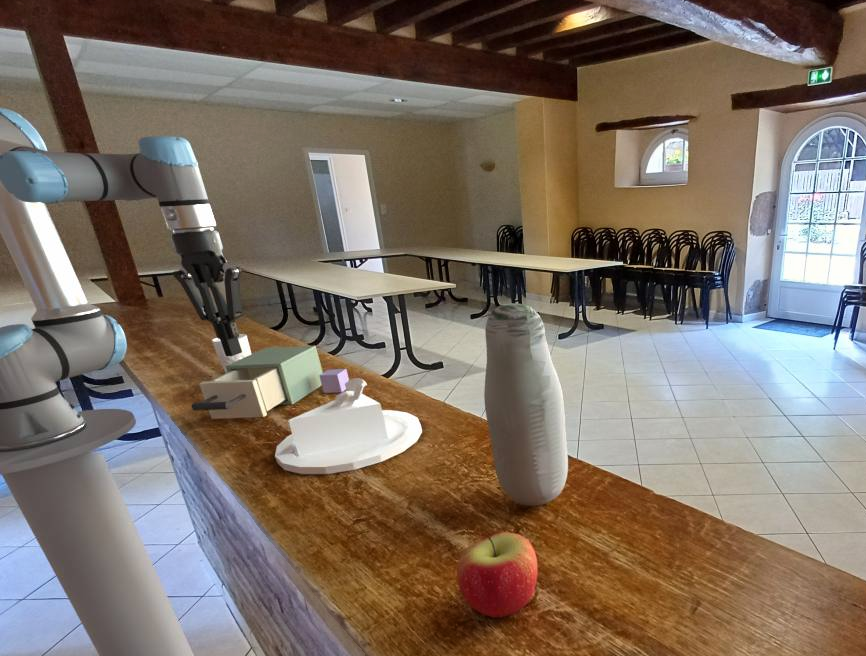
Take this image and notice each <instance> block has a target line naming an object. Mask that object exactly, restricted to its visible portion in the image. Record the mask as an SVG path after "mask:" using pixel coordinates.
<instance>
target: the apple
mask: <svg viewBox="0 0 866 656" xmlns="http://www.w3.org/2000/svg"><path fill="white" fill-rule="evenodd" d="M538 571H539V570H538V559H537V555H536V551H535V549H534V547H533V545H532V543H531V542H530V541H529V540H528V538H525V536H523V535H520V534H518V533H513V532H498V533H495V534H492V535H489V536H487V537H484V538H483V539H481V540H479V541H477V542H475V543H473V544H472V545H470V546H468V547H467V548H466V549H465V550H464V551H463V552H462V553H461V555H460V556H459V558H458V561H457V566H456V579H457V584H458V588H459V591H460V593H461V595H462V597H463V599H464V600H465V602H467V604H468V605H469V606H470V607H471V608H472V609H474V610H475V611H476V612H478V613H480V614H482V615H484V616H487V617H492V618H504V617H507V616H511V615H513V614H515V613H517V612H518V611H520V610H521V609H523V608H524V607H526V605H527V604H528V603H529V601H530V599H531V598H532V596H533V594H534V591H535V589H536V584H537V581H538Z"/></svg>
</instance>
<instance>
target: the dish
mask: <svg viewBox="0 0 866 656" xmlns="http://www.w3.org/2000/svg"><path fill="white" fill-rule="evenodd" d="M367 385H368V384H367V382H366V381H365V380H364V379H363V378H361V377H354V378H352V379H349V381H348V382H347V383H345V387H346V390H344V391H343V392H340V393H338V394H337V395H336V396H335V397H334V398H335V399H334V400H332V401H330V402H327V403H325V404H323V405H319V406H317V407H316V408H313V409H311V410H308V411H306V412H304V413H302V414H299V415H297V416H294V417H292V418H290V419H288V420H287V421H288V424H289V428H290V431H291V434H289V435H287V436H286V437H285V438H284V439H282V441H281V442H280V443H279V444H277V445H276V449H275V452H274V458H275V461H276V463H277V464H278V465H279V466H280V467H281V468H282V469H283V470H284V471H287V472H291V473H295V474H299V475H329V474H330V475H331V474H335V473H342V472H349V471H355V470H358V469H361V468H365V467H369V466H372V465H375V464H378V463H382V462H384V461H387V460H389V459H390V458H393V457H395V456H397V455H399V454H402V453H403V452H405V451H406V450H407V449H409V448H410V447H411V446H413V445H415V444H416V443H417V442H418V440H419V438H420V436H421V435H422V433H423V429H422V425H421V422H420V420H419V418H418V417H417V416H416V415H413V414H412V413H409V412H407V411H400V410H392V409H385V410H384V409H383V408H382V405H381V403H380V402H378V401H377V400H374V399H373V398H370V397H369V396H366V395H365V394H363V390H364V388H365V387H366V386H367Z"/></svg>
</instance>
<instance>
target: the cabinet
mask: <svg viewBox="0 0 866 656" xmlns="http://www.w3.org/2000/svg"><path fill="white" fill-rule="evenodd" d="M269 367H278V368H279V372H280V375H281V379H282V382H283V385H284V389H285V392H286V396H287V399H286V400H284V401H283V402H281V403H279V404H278V405H277V406H288V405H289V406H292V405H295V404H296V403H297V402H299V401H301V400H302V399H303V398H305V397H306V396H308V395H309V394H312V393H313V392H314V391H316V390H317V389H319V388H320V387H322V384H321V380H320V376H319V375H321V374H322V373H324V372H323V368H322V364H321V361H320V357H319V353H318V350H317V346H316V345H301V346H300V345H299V346H297V345H296V346H295V345H294V346H275V347H264V348H262V349H260V350H258V351H256V352H254V353H251V355H249V356H246V357H244V358H242V359H240V360H237V361H235V362H233V363H231V364H229V365H226V369H227V372H230V371H232V370H235V369H244V368H269Z"/></svg>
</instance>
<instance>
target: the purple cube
mask: <svg viewBox="0 0 866 656" xmlns="http://www.w3.org/2000/svg"><path fill="white" fill-rule="evenodd" d="M319 376H320V380H321V384H322V386H321V387H322V392H323V394H337V393H338V394H340V393H342V392H345V391H347V390H346V387H345V383H347V382H348V381H349V380H350V378H349V375H348V370H347V368H335V369H327V370H326V371H324V372H323V373H322V374H321V375H319Z"/></svg>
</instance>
